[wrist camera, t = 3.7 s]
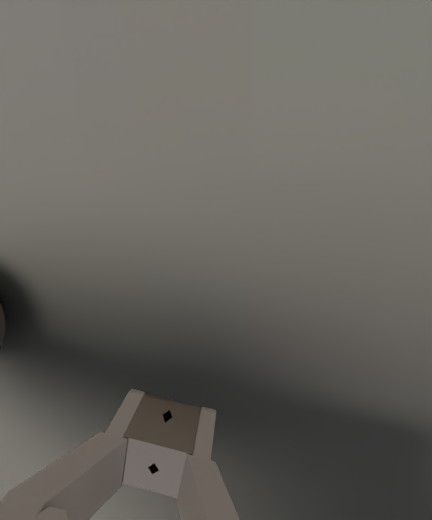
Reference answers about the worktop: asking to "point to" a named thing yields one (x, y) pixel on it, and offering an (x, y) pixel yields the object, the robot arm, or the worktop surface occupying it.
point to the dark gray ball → (2, 325)
